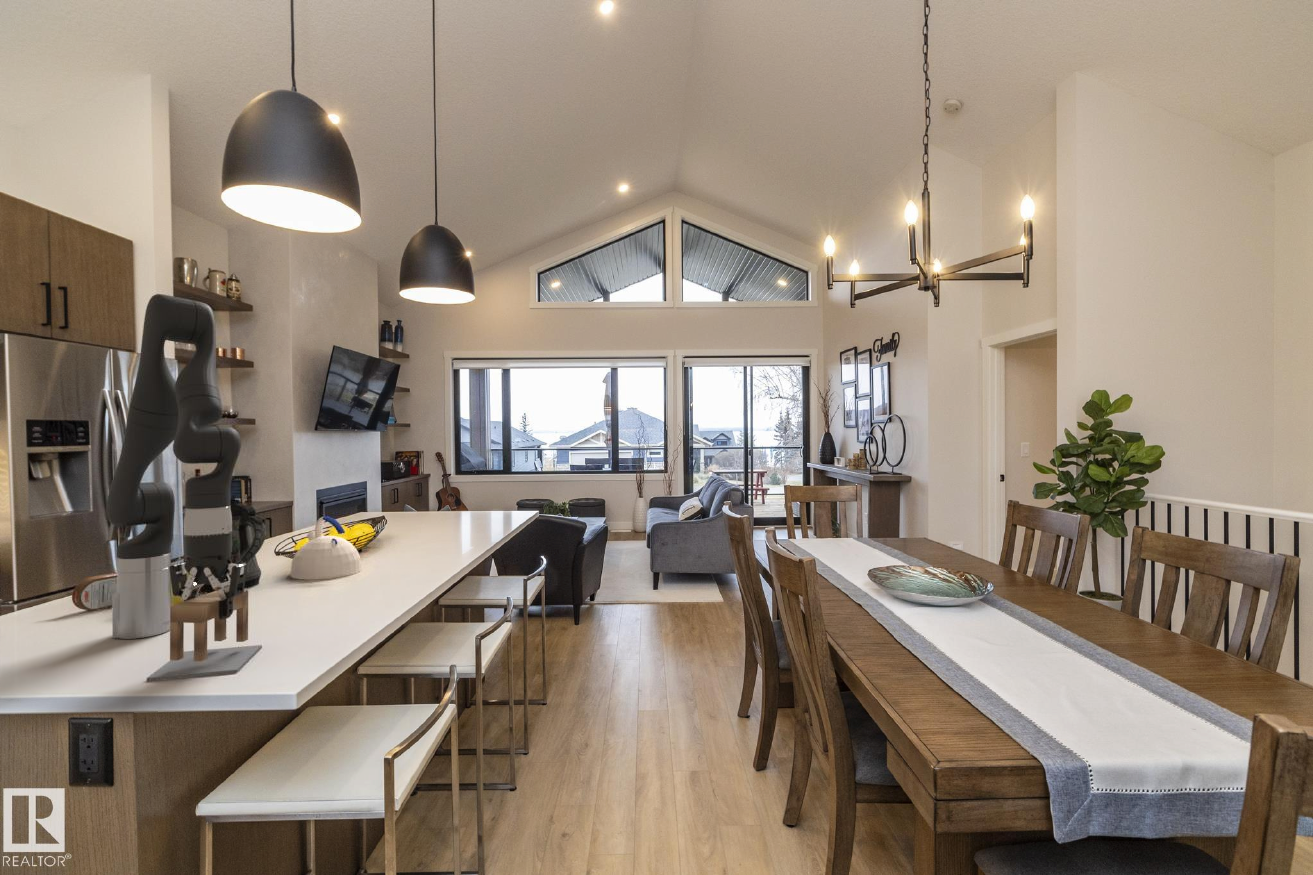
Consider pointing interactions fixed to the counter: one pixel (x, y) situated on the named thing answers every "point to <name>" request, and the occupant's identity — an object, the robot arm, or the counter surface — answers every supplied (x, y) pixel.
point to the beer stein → (244, 542)
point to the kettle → (325, 555)
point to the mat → (206, 663)
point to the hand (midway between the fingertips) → (208, 617)
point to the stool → (205, 623)
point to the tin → (95, 592)
